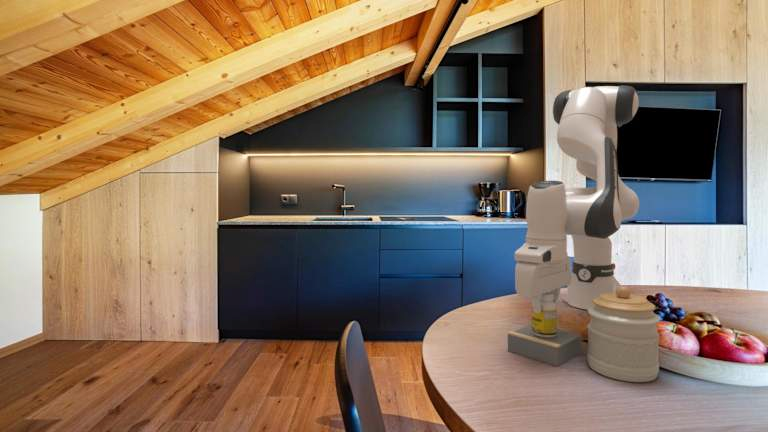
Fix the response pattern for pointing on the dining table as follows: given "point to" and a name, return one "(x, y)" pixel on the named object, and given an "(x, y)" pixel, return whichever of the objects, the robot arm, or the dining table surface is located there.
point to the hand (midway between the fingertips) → (545, 309)
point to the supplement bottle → (545, 317)
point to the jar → (623, 337)
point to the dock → (545, 345)
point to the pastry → (584, 332)
